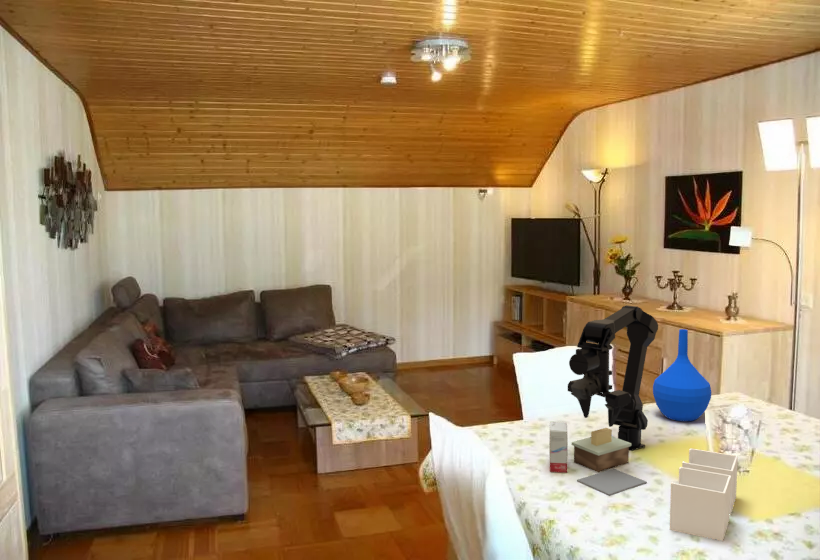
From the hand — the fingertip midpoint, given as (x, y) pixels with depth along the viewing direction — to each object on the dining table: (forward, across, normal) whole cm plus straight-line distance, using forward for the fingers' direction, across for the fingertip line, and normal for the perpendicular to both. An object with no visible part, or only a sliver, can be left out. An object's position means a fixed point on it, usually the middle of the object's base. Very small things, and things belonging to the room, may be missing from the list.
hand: (598, 421), depth 195 cm
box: (+12, +1, 0) cm, 12 cm away
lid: (+7, +1, +1) cm, 7 cm away
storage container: (+12, +36, -3) cm, 38 cm away
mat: (+12, +12, -7) cm, 18 cm away
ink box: (+12, -4, -12) cm, 17 cm away
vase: (+13, -14, +53) cm, 57 cm away
